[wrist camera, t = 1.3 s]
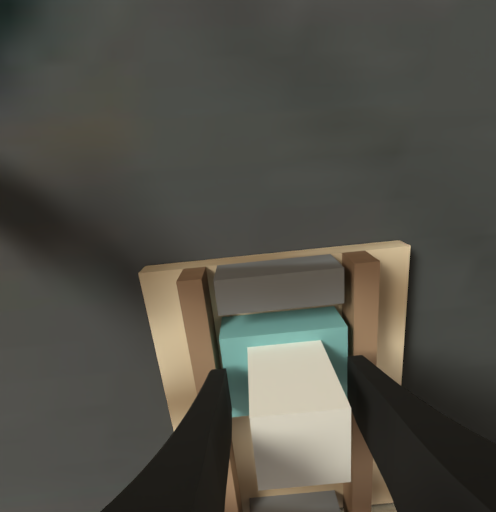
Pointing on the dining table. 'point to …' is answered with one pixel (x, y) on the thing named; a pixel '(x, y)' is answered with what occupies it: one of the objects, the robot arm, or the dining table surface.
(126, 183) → the dining table surface
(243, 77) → the dining table surface
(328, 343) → the slider
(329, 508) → the track
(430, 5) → the dining table surface
